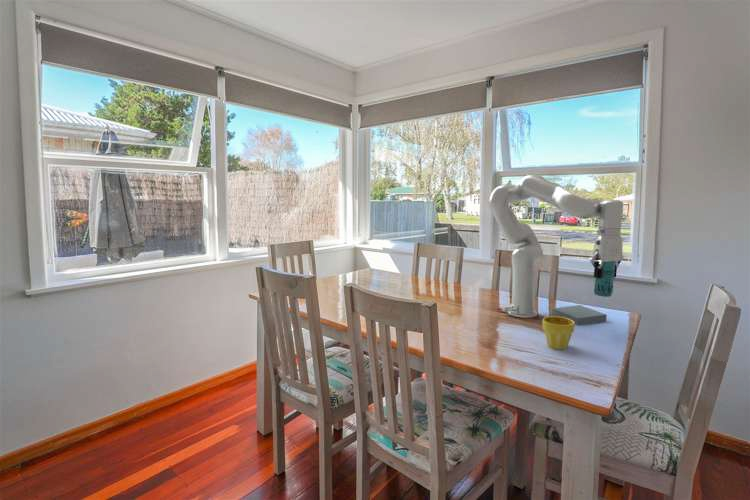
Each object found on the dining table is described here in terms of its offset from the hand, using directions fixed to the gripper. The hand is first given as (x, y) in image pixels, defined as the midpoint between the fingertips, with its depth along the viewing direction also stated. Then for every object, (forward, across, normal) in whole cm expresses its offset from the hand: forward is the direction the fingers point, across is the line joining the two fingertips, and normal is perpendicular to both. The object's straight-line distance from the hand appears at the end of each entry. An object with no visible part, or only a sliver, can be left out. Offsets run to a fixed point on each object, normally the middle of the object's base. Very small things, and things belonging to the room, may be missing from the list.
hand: (604, 276), depth 157 cm
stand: (+22, +3, +14) cm, 26 cm away
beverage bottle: (+9, 0, 0) cm, 9 cm away
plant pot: (+22, -28, -9) cm, 37 cm away
